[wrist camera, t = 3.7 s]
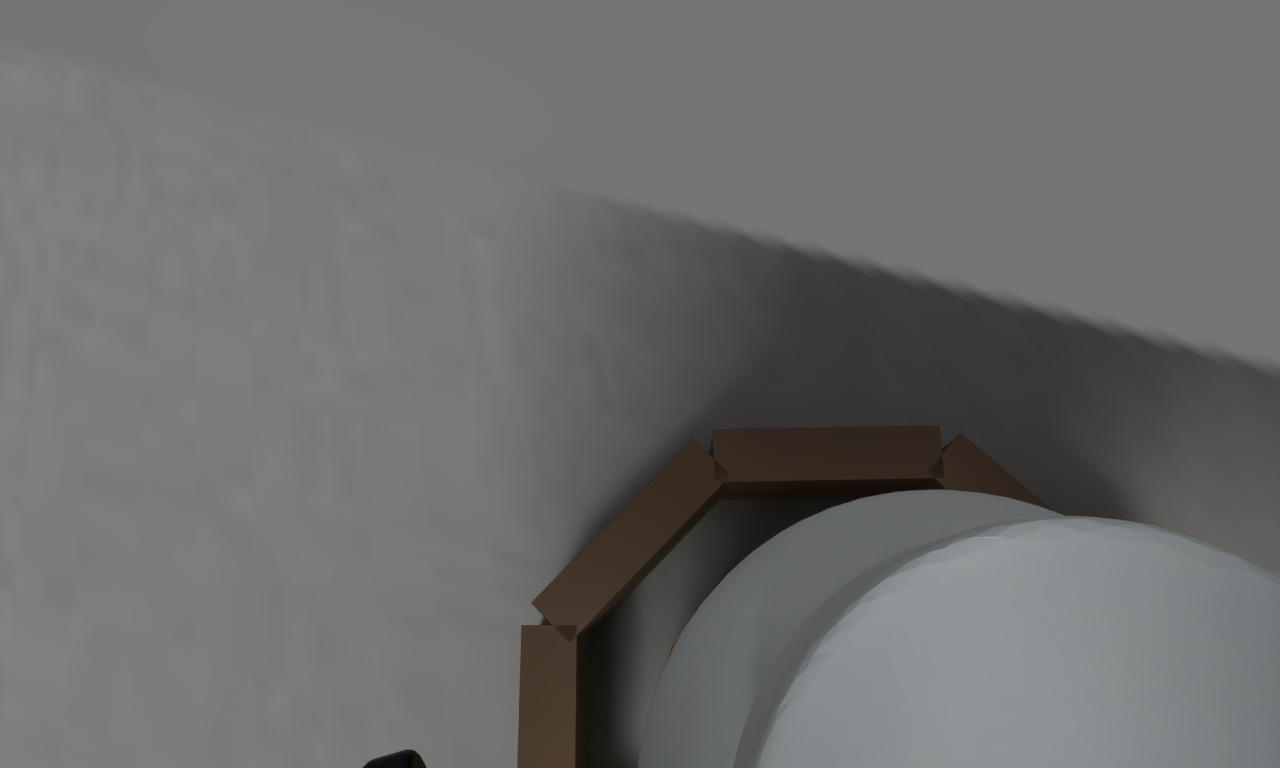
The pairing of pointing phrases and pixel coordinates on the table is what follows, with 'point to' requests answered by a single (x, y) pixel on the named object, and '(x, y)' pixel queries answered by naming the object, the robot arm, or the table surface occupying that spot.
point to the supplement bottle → (975, 646)
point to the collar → (677, 505)
